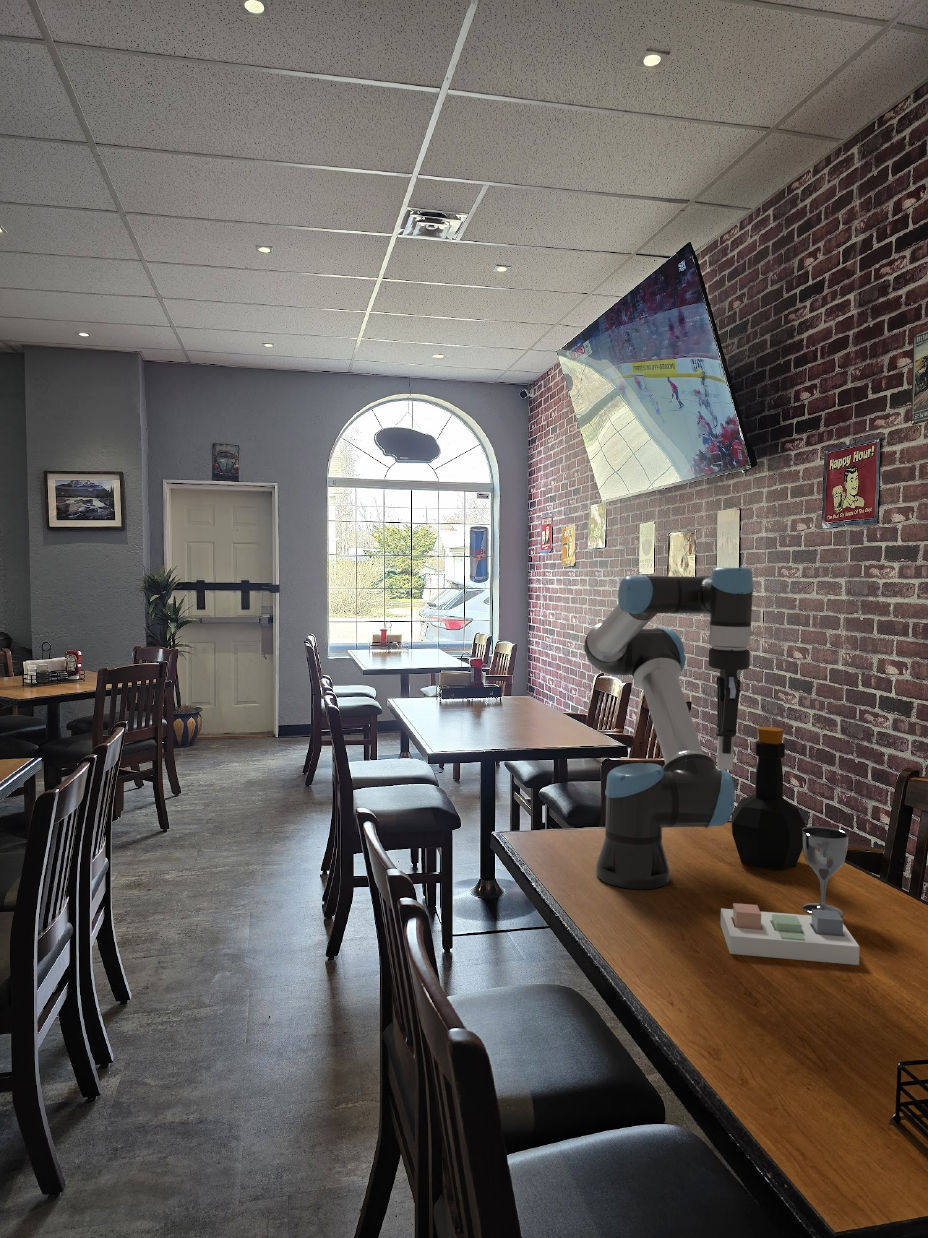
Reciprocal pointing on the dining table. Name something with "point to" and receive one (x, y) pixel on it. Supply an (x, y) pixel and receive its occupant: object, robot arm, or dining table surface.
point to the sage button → (786, 923)
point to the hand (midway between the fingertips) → (724, 768)
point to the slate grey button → (827, 922)
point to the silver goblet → (824, 858)
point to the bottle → (768, 811)
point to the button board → (789, 941)
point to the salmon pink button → (746, 916)
